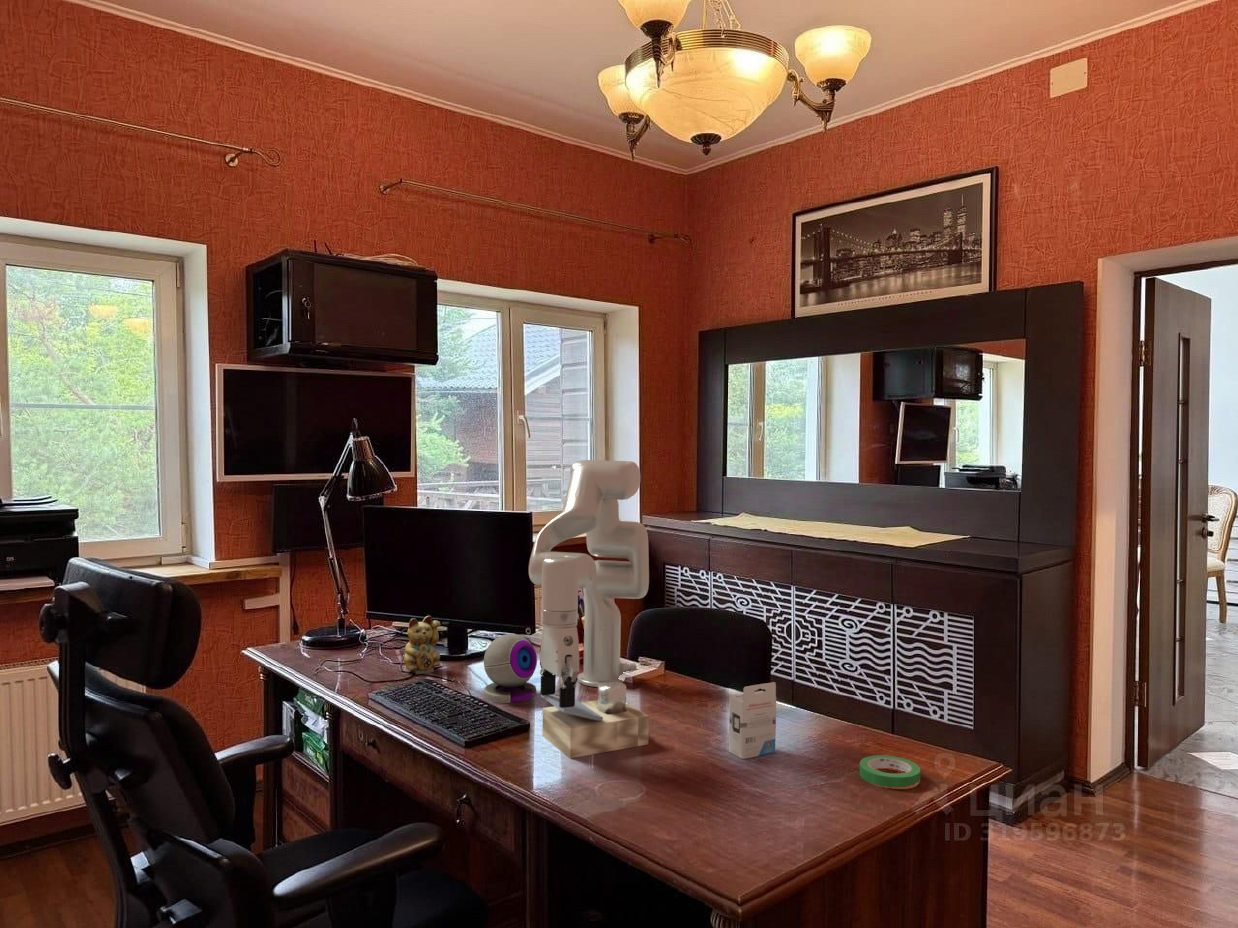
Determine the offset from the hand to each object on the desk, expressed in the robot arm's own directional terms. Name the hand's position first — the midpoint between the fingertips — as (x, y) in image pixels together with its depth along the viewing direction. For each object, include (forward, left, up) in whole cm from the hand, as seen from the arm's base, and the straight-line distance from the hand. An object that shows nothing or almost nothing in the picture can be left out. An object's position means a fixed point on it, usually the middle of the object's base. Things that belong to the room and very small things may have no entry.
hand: (557, 700), depth 175 cm
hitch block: (-9, 0, -10) cm, 13 cm away
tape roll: (-51, +42, -10) cm, 67 cm away
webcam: (-4, -37, -10) cm, 39 cm away
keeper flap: (-3, 0, -2) cm, 4 cm away
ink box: (-35, +20, -10) cm, 41 cm away
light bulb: (-13, -1, -9) cm, 16 cm away
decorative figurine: (+10, -67, -10) cm, 69 cm away
